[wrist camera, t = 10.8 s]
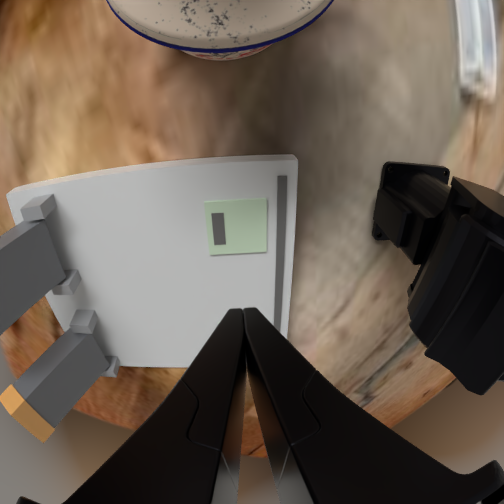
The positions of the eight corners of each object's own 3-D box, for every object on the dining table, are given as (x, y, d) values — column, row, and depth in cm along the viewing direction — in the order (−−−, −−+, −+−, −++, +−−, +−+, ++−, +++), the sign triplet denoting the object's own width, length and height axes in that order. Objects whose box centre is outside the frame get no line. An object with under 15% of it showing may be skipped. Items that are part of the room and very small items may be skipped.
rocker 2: (91, 331, 23) (10, 415, 14) (110, 366, 26) (43, 443, 17) (74, 320, 24) (-2, 397, 15) (94, 355, 27) (29, 427, 18)
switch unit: (293, 154, 19) (305, 169, 16) (282, 350, 30) (287, 377, 27) (15, 187, 18) (-9, 205, 15) (87, 353, 29) (78, 377, 26)
